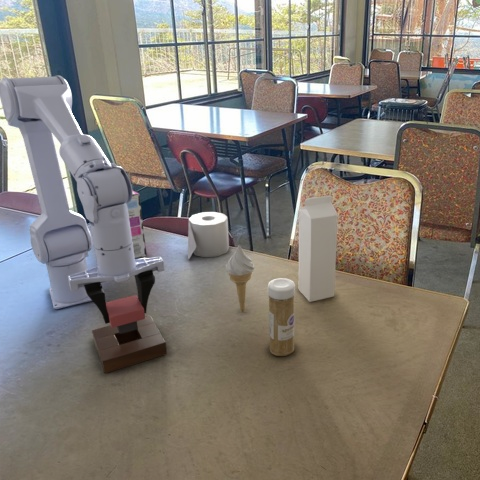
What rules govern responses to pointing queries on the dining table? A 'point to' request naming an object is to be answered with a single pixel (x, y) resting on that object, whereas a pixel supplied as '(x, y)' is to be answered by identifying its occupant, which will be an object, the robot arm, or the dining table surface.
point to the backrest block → (128, 345)
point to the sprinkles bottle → (281, 316)
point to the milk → (317, 248)
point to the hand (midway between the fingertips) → (124, 315)
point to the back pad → (125, 313)
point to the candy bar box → (136, 226)
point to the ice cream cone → (240, 273)
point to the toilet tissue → (208, 234)
